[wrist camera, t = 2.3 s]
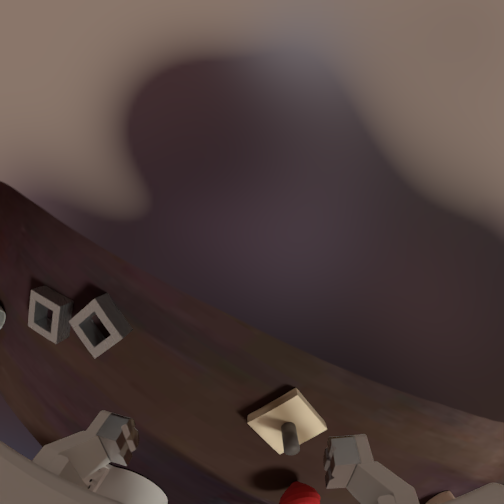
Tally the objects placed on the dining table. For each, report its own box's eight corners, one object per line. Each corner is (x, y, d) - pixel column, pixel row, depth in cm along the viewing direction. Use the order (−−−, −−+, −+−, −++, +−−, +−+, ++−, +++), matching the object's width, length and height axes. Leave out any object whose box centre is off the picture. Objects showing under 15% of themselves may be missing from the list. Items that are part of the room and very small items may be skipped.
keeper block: (278, 446, 37) (281, 477, 30) (247, 415, 37) (246, 445, 30) (324, 421, 37) (334, 450, 30) (295, 387, 36) (303, 416, 29)
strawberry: (323, 475, 38) (333, 516, 28) (294, 496, 38) (299, 536, 28) (297, 465, 38) (304, 509, 28) (268, 487, 38) (270, 529, 28)
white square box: (68, 336, 36) (56, 344, 33) (41, 320, 36) (28, 325, 33) (73, 301, 36) (60, 306, 32) (45, 285, 36) (31, 289, 32)
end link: (105, 349, 36) (94, 358, 33) (81, 314, 36) (68, 321, 33) (133, 329, 36) (122, 338, 33) (107, 292, 36) (94, 298, 32)
